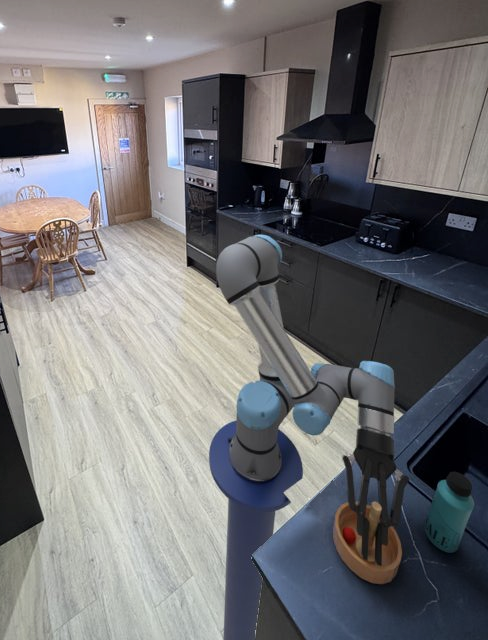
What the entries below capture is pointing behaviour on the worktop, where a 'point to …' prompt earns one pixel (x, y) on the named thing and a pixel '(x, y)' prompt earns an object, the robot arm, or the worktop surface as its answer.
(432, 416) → the worktop surface
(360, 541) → the wooden peg
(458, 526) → the beverage bottle
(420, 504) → the worktop surface
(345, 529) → the cherry tomato
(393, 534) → the bowl
